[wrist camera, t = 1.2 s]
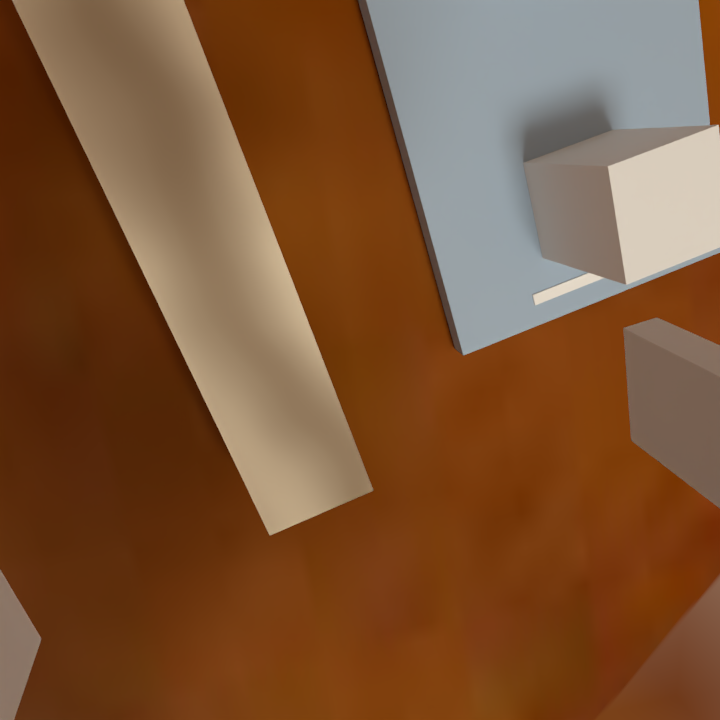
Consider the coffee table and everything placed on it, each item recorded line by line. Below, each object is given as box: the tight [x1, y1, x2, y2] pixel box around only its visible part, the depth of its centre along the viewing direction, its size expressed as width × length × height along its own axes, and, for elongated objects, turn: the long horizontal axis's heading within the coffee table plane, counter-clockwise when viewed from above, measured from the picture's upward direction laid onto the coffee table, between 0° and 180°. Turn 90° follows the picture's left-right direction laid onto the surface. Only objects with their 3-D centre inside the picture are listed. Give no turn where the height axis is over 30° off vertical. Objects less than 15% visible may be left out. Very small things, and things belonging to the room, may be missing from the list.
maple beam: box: [12, 0, 373, 535], centre depth 27 cm, size 5×22×7 cm, turn 19°
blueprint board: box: [358, 0, 720, 355], centre depth 27 cm, size 16×26×8 cm, turn 18°
